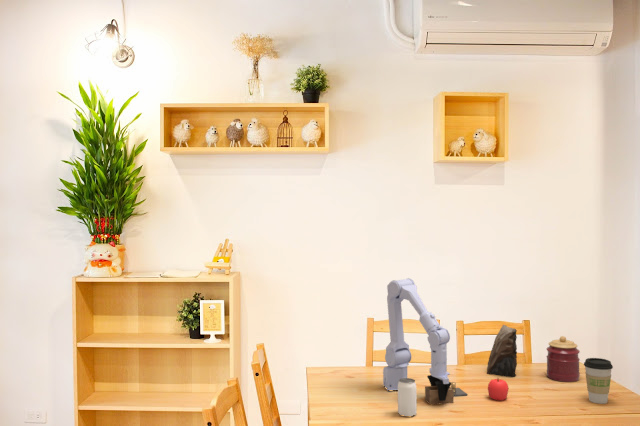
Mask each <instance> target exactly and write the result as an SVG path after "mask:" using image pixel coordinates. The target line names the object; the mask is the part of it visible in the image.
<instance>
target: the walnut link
mask: <svg viewBox="0 0 640 426" xmlns="http://www.w3.org/2000/svg"><path fill="white" fill-rule="evenodd" d="M424 400H425V401H426V400H427V401H428V402H429V403H430V404H432V405H441V404H442V405H444V404H445V405H446V404H454V397H453V389H452V388H451V386H450V387H449V389H448V392H447V396H446V400H445V401H440V400H439V395H438V389H437V386H431V385H428V386H427V385H426V386H424ZM427 401H426V402H427ZM428 402H427V403H428ZM429 403H428V404H429ZM430 404H429V405H430Z"/></svg>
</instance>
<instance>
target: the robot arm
mask: <svg viewBox="0 0 640 426" xmlns="http://www.w3.org/2000/svg"><path fill="white" fill-rule="evenodd" d="M386 289H387V296H386V297H387V298H386V301H387V313H388V325H389V328H388V329H389V337H390V338H389V339H390V342H388V343H389V344H388V345H387V346H386V347H385V354H384V355H385V356H384V359H385V362H386V364H387V366H383V369H382V370H383V371H382V373H383V376H382V378H383V379H382V381H383V384H382V386H383V385H384V386H385V387H386V388H387V389H386V388H385V387H384V386H383V387H384V388H385V389H386V391H388V390H398V383H399V379H402V378H408V366H409V363H410V362H411V361H412V352H411V350H410V346H409V344H408V343H407V342H406V341H405V334H404V324H403V323H404V321H403V320H404V319H403V309H402V302H403V301H404V300H406V301H409V303H410V304H411V306H412V307H413V309H414V310H415V311H416V312H417V315H419V319H418V320H419V323H420V324H421V325H422V327H423V328H424V330H425V333H426V334H427V335H428V336H427V341H428V345H429V349H430V357H431V358H430V360H431V361H430V368H429V375H427V379H428V381H429V383H430V386H437V389H438V395H439V400H440V401H445V400H446V396H447V392H448V389H449V387H451V381H450V378H449V377H448V376H450V375H451V374H450V371H447V369H448V367H447V364H448V363H447V360H448V359H447V355H448V354H447V353H448V351H447V349H448V348H447V344H448V343H449V342H450V339H451V336H450V335H451V334H450V333H449V331H448V329H447V328H445V327H444V326H442V325H441V324H440V323H439V322H438V320H437V319H436V316H435V314H434V313H433V312H432V311H428V310H427V307H426V306H425V304H424V302H423V300H422V298H421V297H420V295H419V293H418V287H417V285H416V283H415V282H414V280H413V279H412V278H409V277H408V278H404V279H397V280H396V279H395V280H391V281H390V282H389V283H388V284H387V286H386Z"/></svg>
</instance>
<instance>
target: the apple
mask: <svg viewBox="0 0 640 426" xmlns="http://www.w3.org/2000/svg"><path fill="white" fill-rule="evenodd" d="M499 378H500V377H497V378H493V379H491V380H490V381H489V383H488V384H487V393H488V397H490V399H492V400H494V401H499V402H500V401H505V400H506V399H507V398H508V394H509V390H510V389H509V388H510V387H509V384H508V382H507V381H506V380H504V379H502V378H501V379H499Z"/></svg>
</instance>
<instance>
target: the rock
mask: <svg viewBox="0 0 640 426" xmlns="http://www.w3.org/2000/svg"><path fill="white" fill-rule="evenodd" d="M517 331H518V330H517V329H516V328H513V327H510V326H507V325H506V324H502V325H501V328H500V329H499V331H498V333H497V335H496V336H495V339H494V342H493V345H492V347H491V348H492V349H491V351H490V354H489V357H488V362H487V367H486V375H493V376H500V377H506V378H515V377H516V376H517V374H516V370H517V367H518V366H517V365H518V362H517V358H518V355H517V353H518V352H517V349H518V348H517V339H518V337H517Z"/></svg>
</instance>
